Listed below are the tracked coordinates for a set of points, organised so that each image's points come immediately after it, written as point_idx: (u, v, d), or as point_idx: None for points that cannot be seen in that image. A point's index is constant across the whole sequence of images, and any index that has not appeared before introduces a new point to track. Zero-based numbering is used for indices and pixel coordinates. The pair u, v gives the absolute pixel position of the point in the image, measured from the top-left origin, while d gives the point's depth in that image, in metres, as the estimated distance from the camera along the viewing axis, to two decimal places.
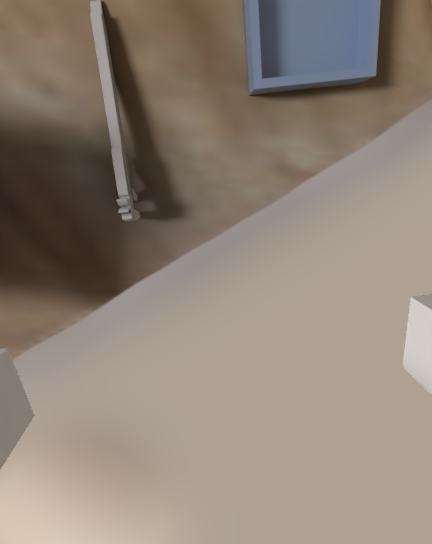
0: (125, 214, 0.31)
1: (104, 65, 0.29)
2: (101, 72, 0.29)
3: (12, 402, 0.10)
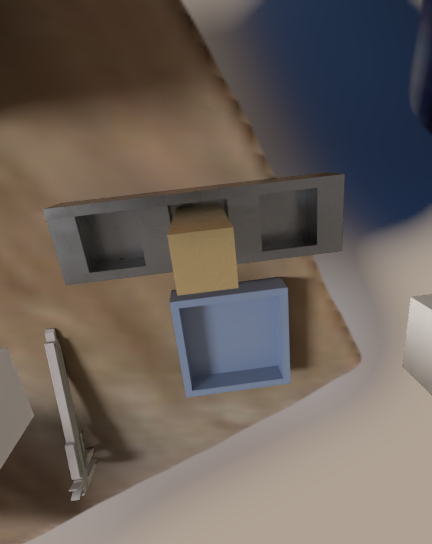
0: None
1: (57, 382, 0.34)
2: (55, 387, 0.35)
3: (12, 402, 0.10)
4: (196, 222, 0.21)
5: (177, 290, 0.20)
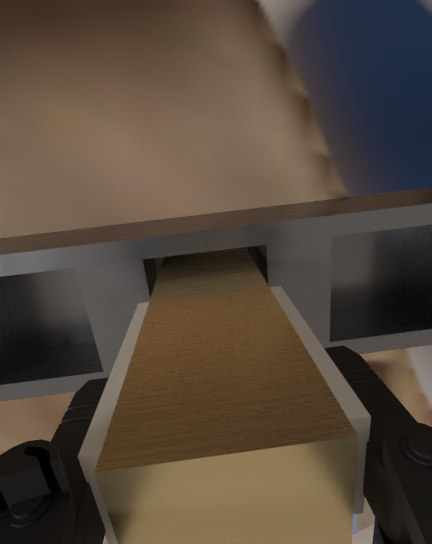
0: None
1: None
2: None
3: None
4: (206, 348, 0.07)
5: None
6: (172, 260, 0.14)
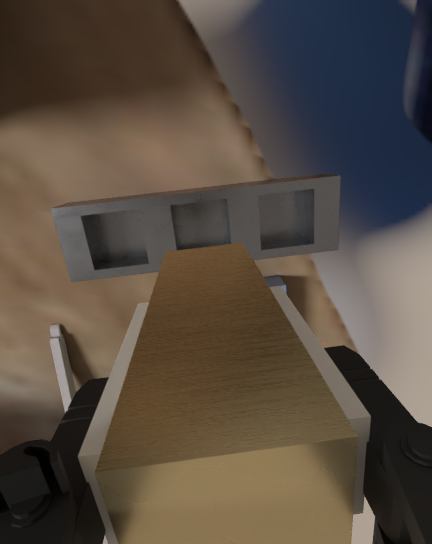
0: None
1: (61, 376, 0.35)
2: (59, 381, 0.36)
3: None
4: (206, 348, 0.07)
5: None
6: (172, 260, 0.14)
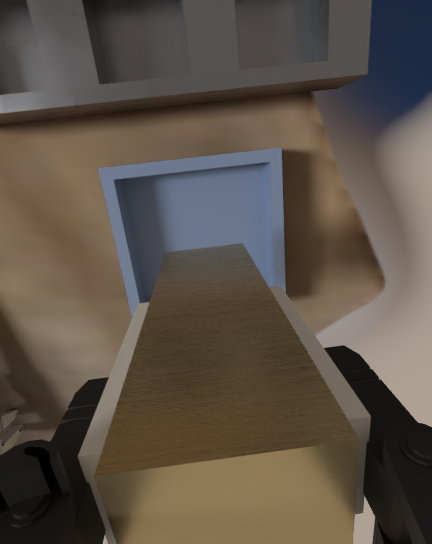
0: None
1: None
2: None
3: None
4: (207, 350, 0.07)
5: None
6: (172, 261, 0.14)
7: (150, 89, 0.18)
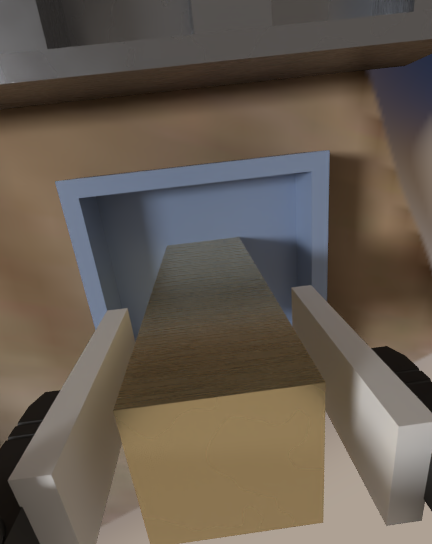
0: None
1: None
2: None
3: None
4: (204, 323, 0.08)
5: (151, 536, 0.07)
6: (173, 253, 0.15)
7: (130, 57, 0.11)
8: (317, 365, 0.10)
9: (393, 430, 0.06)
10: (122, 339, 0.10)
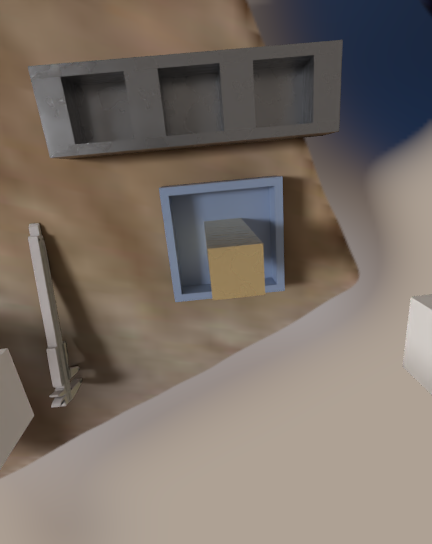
0: None
1: (40, 279, 0.33)
2: (38, 285, 0.33)
3: (12, 402, 0.10)
4: (228, 237, 0.25)
5: (213, 295, 0.23)
6: (208, 223, 0.32)
7: (198, 139, 0.28)
8: None
9: None
10: None
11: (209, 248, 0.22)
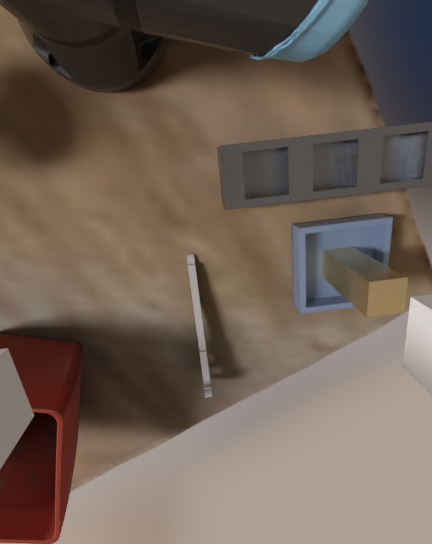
0: None
1: (196, 298, 0.42)
2: (194, 302, 0.42)
3: (12, 402, 0.10)
4: (371, 270, 0.34)
5: (367, 314, 0.32)
6: (331, 253, 0.41)
7: (336, 193, 0.36)
8: None
9: None
10: None
11: (369, 281, 0.31)
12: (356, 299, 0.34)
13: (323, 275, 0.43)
